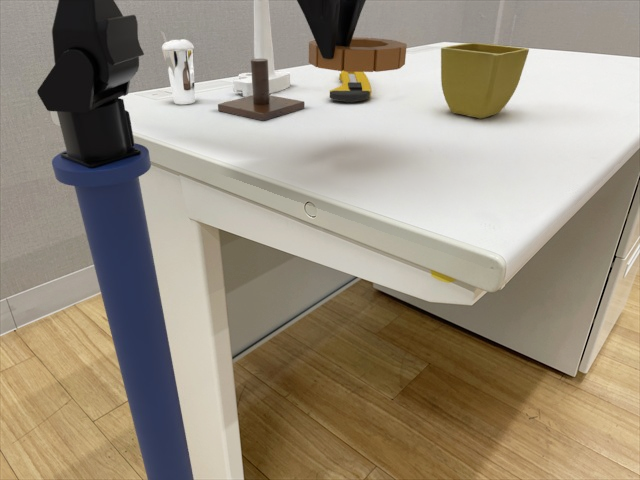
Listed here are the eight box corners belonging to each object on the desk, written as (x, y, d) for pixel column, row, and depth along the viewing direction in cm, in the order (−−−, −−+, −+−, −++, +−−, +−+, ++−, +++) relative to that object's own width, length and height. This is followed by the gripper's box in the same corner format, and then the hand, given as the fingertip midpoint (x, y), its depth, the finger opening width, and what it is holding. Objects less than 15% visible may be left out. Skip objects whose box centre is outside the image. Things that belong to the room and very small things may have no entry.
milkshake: (182, 96, 81) (174, 30, 76) (205, 101, 78) (198, 32, 73) (159, 102, 78) (149, 32, 73) (183, 107, 75) (173, 35, 70)
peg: (263, 121, 68) (261, 67, 65) (218, 111, 73) (213, 60, 70) (304, 108, 75) (304, 58, 71) (260, 99, 79) (257, 53, 76)
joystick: (253, 98, 80) (244, -46, 71) (219, 92, 84) (207, -45, 74) (295, 86, 88) (293, -44, 79) (263, 81, 92) (257, -44, 82)
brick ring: (372, 76, 46) (374, 53, 45) (290, 63, 51) (289, 42, 50) (421, 63, 53) (423, 43, 52) (343, 53, 58) (344, 34, 57)
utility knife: (329, 104, 77) (329, 90, 76) (328, 76, 97) (328, 65, 96) (374, 104, 77) (374, 90, 76) (363, 76, 97) (363, 65, 96)
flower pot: (464, 103, 77) (473, 41, 73) (518, 113, 72) (530, 47, 68) (432, 113, 72) (439, 47, 68) (487, 125, 67) (499, 54, 62)
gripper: (358, -181, 30) (347, 83, 38) (477, -134, 43) (452, 55, 51) (230, -158, 36) (243, 66, 44) (369, -123, 49) (360, 45, 57)
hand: (334, 57), depth 49 cm, fingers closed on brick ring, 2 cm apart
